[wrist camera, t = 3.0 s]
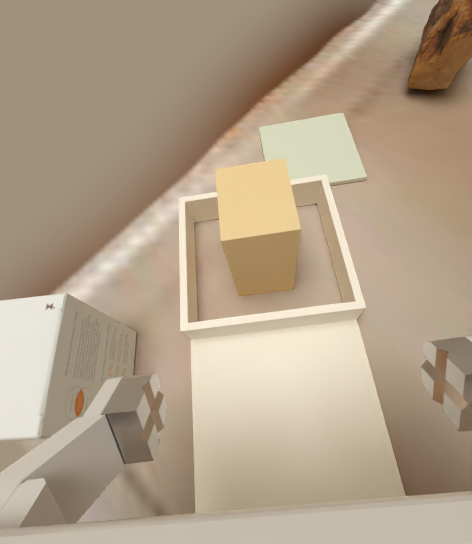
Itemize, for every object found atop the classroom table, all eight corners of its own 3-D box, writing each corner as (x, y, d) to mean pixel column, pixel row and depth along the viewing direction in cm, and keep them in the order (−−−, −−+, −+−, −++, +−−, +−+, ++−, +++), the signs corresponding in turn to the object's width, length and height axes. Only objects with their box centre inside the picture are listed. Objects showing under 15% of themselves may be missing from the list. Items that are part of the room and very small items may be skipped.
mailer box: (321, 198, 31) (326, 174, 28) (408, 514, 20) (433, 533, 17) (188, 218, 32) (178, 197, 29) (197, 530, 21) (183, 551, 18)
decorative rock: (447, 113, 34) (515, -7, 24) (392, 102, 36) (435, -13, 26) (470, 51, 38) (537, -74, 28) (419, 44, 40) (465, -76, 30)
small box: (81, 336, 28) (-18, 298, 19) (139, 331, 28) (66, 289, 18) (65, 433, 25) (-67, 446, 15) (131, 429, 24) (36, 440, 15)
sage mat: (342, 116, 36) (343, 112, 35) (365, 180, 31) (367, 176, 31) (259, 130, 36) (258, 127, 36) (270, 195, 32) (270, 192, 32)
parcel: (282, 234, 30) (285, 157, 21) (293, 289, 27) (300, 229, 18) (233, 241, 30) (215, 169, 21) (239, 296, 28) (221, 241, 19)
